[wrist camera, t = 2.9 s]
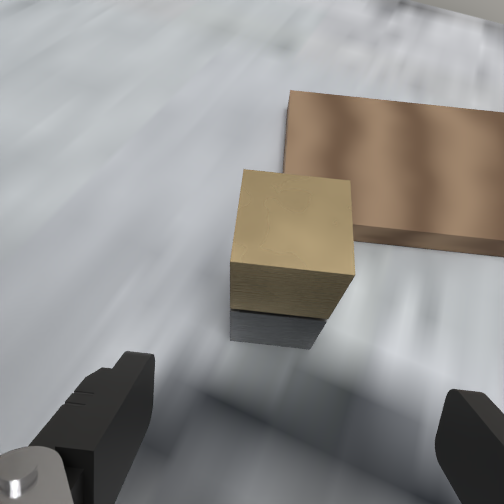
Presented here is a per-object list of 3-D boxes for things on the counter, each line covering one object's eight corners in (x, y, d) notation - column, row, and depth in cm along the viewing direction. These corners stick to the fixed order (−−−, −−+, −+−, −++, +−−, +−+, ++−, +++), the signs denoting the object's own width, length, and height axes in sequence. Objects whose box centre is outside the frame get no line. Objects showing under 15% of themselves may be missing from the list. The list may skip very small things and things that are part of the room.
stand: (278, 232, 28) (281, 216, 26) (287, 109, 35) (290, 90, 33) (548, 261, 28) (569, 247, 26) (501, 131, 35) (515, 113, 33)
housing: (230, 340, 24) (230, 261, 15) (239, 270, 26) (243, 169, 18) (309, 349, 24) (355, 275, 15) (311, 278, 26) (350, 180, 18)
